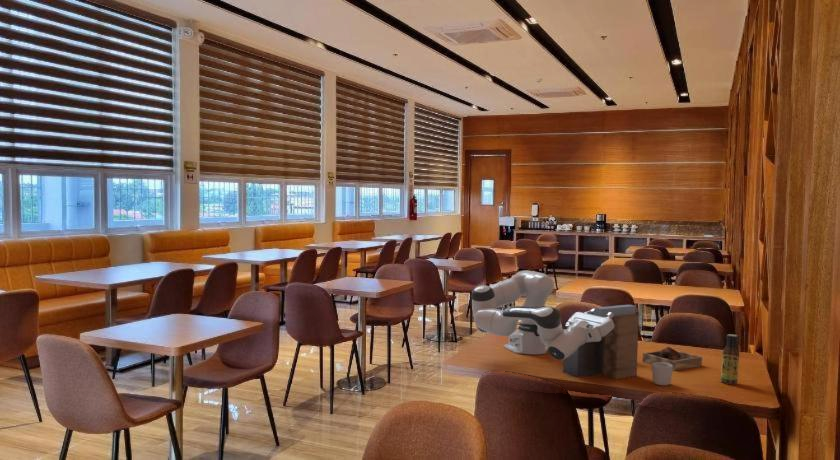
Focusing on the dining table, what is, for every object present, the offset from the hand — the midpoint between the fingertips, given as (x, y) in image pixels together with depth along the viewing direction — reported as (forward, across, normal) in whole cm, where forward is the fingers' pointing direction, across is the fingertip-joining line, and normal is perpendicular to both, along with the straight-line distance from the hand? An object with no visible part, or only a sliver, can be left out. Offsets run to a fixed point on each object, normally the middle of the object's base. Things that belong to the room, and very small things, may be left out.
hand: (603, 311), depth 265 cm
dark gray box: (-13, -11, -25) cm, 30 cm away
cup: (+1, +16, -33) cm, 36 cm away
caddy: (+28, -4, -48) cm, 56 cm away
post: (-4, 0, -30) cm, 30 cm away
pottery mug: (+28, -6, -48) cm, 56 cm away
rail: (+5, 0, -5) cm, 7 cm away
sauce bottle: (+23, +28, -46) cm, 59 cm away
